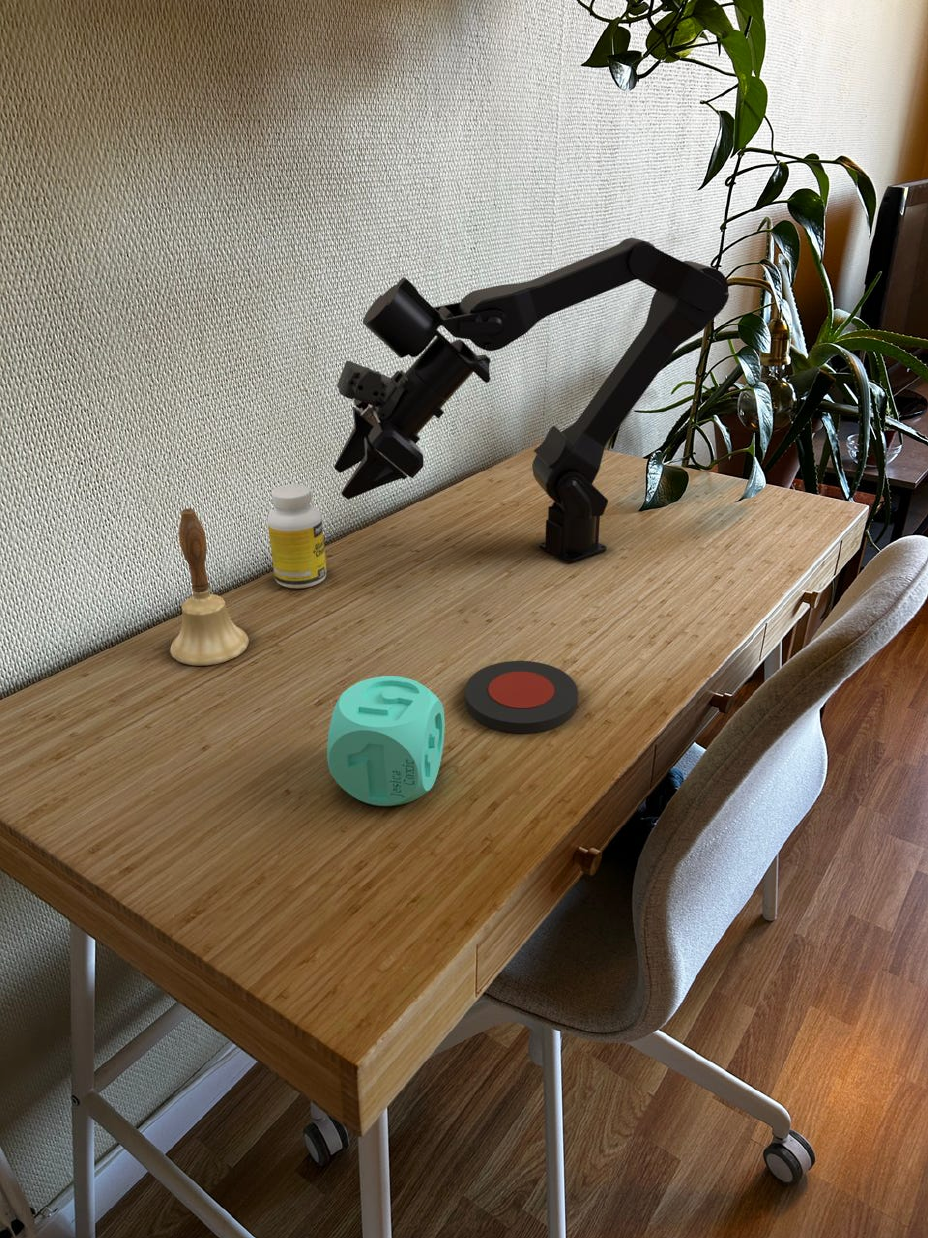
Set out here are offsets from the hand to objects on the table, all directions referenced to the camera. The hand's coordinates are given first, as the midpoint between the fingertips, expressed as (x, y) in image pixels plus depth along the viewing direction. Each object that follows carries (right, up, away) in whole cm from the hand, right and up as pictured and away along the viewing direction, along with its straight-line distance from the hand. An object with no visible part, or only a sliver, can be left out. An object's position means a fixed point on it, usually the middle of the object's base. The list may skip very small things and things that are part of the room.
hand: (340, 482), depth 109 cm
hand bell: (-13, -19, -9) cm, 25 cm away
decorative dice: (+8, -30, -30) cm, 43 cm away
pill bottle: (-6, -11, +5) cm, 14 cm away
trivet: (+20, -24, -20) cm, 37 cm away
